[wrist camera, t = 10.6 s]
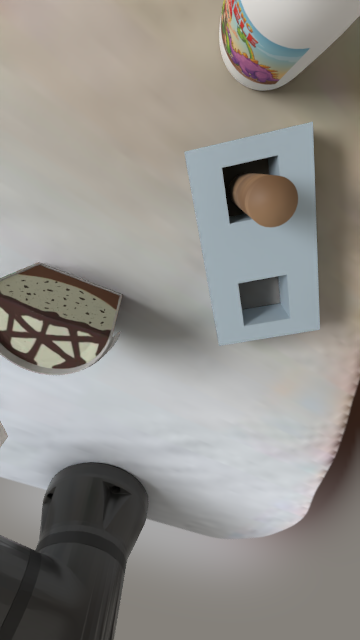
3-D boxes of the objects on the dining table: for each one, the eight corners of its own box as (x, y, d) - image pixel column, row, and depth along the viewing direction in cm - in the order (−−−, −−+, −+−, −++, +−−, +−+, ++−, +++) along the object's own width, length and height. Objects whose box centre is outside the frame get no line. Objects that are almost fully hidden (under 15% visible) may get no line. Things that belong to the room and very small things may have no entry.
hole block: (307, 313, 36) (319, 329, 32) (216, 328, 37) (219, 345, 33) (297, 127, 29) (312, 121, 25) (185, 153, 30) (184, 151, 26)
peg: (262, 203, 31) (299, 222, 20) (230, 209, 32) (250, 231, 21) (259, 169, 30) (297, 170, 19) (226, 176, 30) (245, 181, 20)
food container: (14, 306, 37) (-44, 351, 28) (24, 256, 34) (-36, 288, 25) (118, 344, 38) (95, 398, 29) (135, 299, 36) (116, 343, 27)
